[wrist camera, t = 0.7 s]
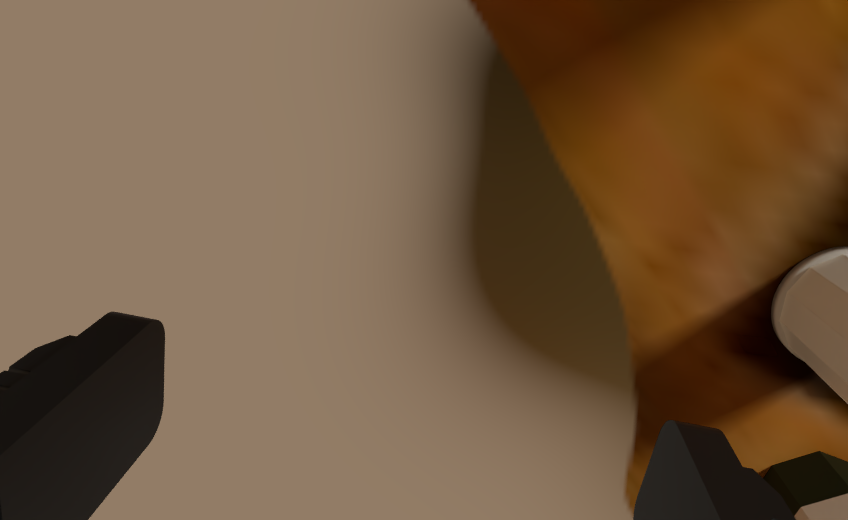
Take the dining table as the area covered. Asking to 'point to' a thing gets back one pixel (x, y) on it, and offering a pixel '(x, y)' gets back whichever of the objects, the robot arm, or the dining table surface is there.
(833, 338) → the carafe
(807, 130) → the dining table surface
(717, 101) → the dining table surface
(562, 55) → the dining table surface
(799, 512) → the wine bottle
